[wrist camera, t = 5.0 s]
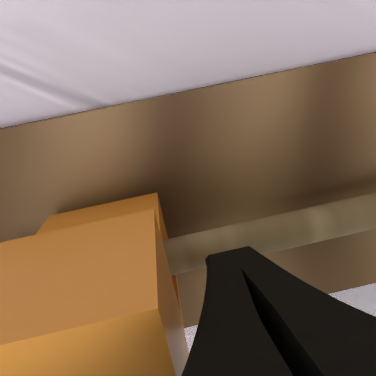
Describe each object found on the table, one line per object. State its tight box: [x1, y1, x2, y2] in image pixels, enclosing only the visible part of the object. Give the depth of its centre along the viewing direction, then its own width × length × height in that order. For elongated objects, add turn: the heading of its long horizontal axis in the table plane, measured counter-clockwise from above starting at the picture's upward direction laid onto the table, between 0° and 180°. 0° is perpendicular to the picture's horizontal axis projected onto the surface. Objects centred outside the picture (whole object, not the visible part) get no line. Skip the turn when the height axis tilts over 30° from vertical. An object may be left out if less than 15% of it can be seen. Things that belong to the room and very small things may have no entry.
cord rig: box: [0, 52, 376, 328], centre depth 11 cm, size 24×10×6 cm, turn 101°
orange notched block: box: [0, 192, 189, 376], centre depth 9 cm, size 4×5×8 cm
